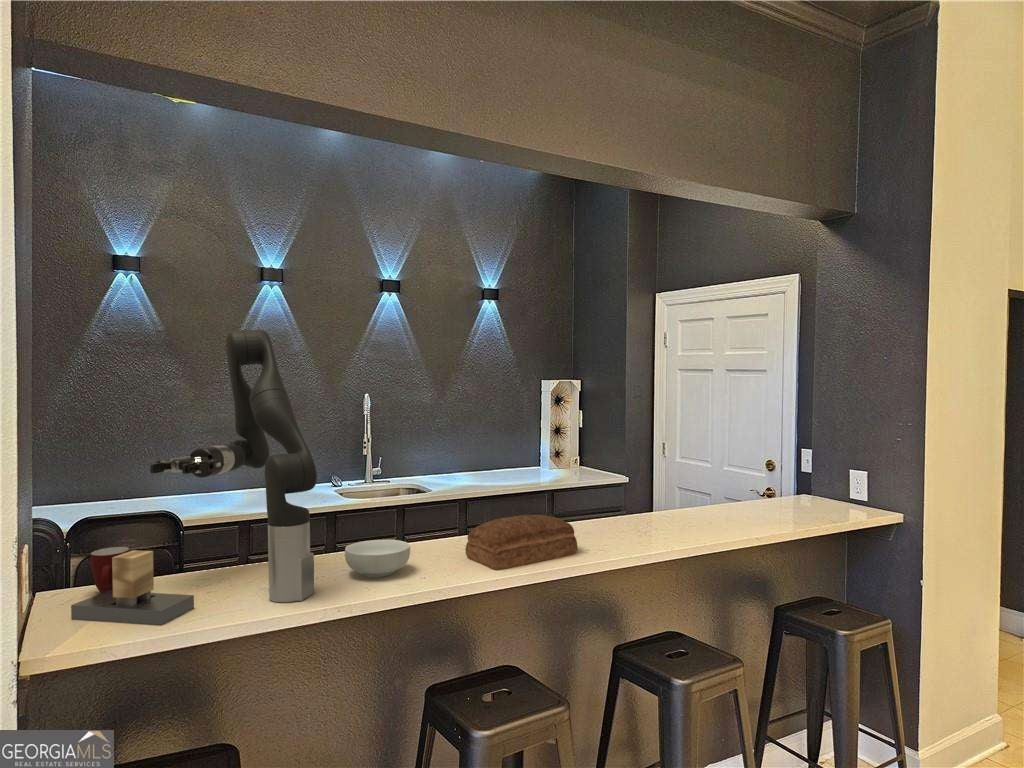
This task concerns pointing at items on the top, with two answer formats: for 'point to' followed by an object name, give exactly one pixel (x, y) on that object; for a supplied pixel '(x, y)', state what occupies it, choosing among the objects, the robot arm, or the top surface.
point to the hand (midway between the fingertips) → (167, 469)
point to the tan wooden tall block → (132, 577)
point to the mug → (105, 566)
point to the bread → (520, 541)
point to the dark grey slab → (133, 609)
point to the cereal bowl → (377, 557)
